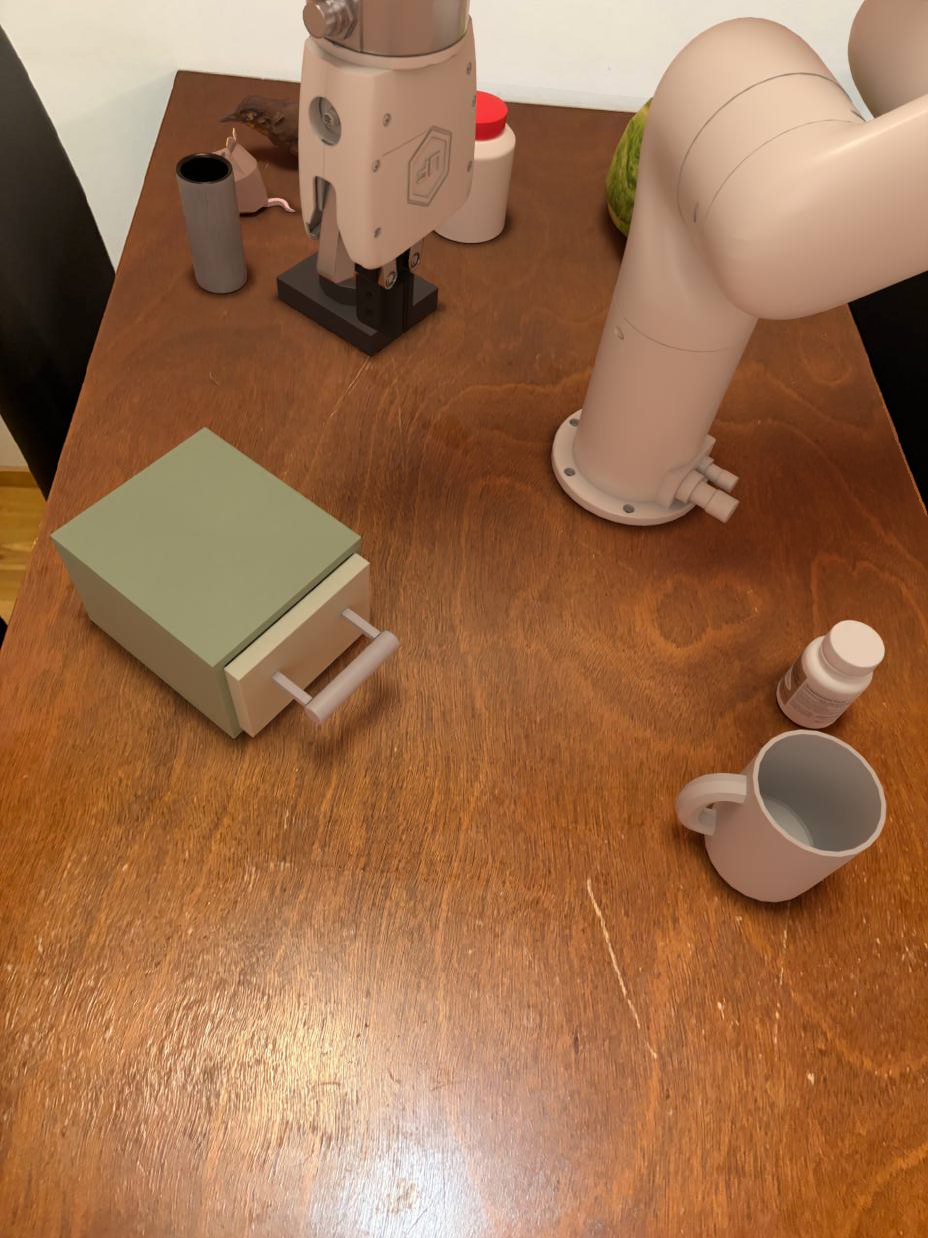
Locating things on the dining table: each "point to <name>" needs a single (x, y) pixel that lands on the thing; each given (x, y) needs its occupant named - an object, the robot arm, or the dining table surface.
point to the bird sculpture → (270, 120)
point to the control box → (343, 303)
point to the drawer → (309, 651)
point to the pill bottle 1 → (485, 176)
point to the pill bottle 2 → (830, 674)
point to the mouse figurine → (248, 179)
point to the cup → (786, 814)
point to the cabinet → (199, 563)
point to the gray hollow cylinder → (212, 221)
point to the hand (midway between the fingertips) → (384, 323)
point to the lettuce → (625, 172)
